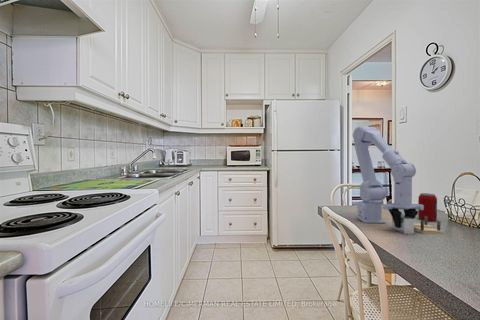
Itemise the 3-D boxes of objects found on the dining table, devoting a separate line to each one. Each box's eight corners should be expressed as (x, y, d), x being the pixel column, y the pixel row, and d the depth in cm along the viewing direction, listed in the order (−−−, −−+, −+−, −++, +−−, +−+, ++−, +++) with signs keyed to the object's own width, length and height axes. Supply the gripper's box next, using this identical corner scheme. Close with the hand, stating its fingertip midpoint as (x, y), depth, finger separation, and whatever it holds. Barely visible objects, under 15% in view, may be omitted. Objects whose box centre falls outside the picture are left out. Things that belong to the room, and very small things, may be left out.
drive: (413, 234, 89) (413, 218, 89) (404, 234, 89) (404, 218, 89) (401, 227, 97) (401, 213, 97) (392, 227, 97) (392, 213, 97)
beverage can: (440, 221, 105) (441, 195, 105) (425, 221, 105) (425, 195, 105) (428, 217, 112) (429, 192, 111) (414, 217, 112) (415, 192, 112)
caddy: (444, 234, 89) (444, 222, 89) (422, 233, 90) (422, 222, 90) (425, 225, 99) (425, 215, 99) (405, 225, 100) (406, 215, 100)
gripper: (389, 195, 89) (389, 230, 90) (429, 195, 88) (429, 230, 89) (380, 192, 96) (379, 224, 97) (416, 192, 95) (416, 225, 96)
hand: (402, 227), depth 93 cm, fingers closed on drive, 3 cm apart
